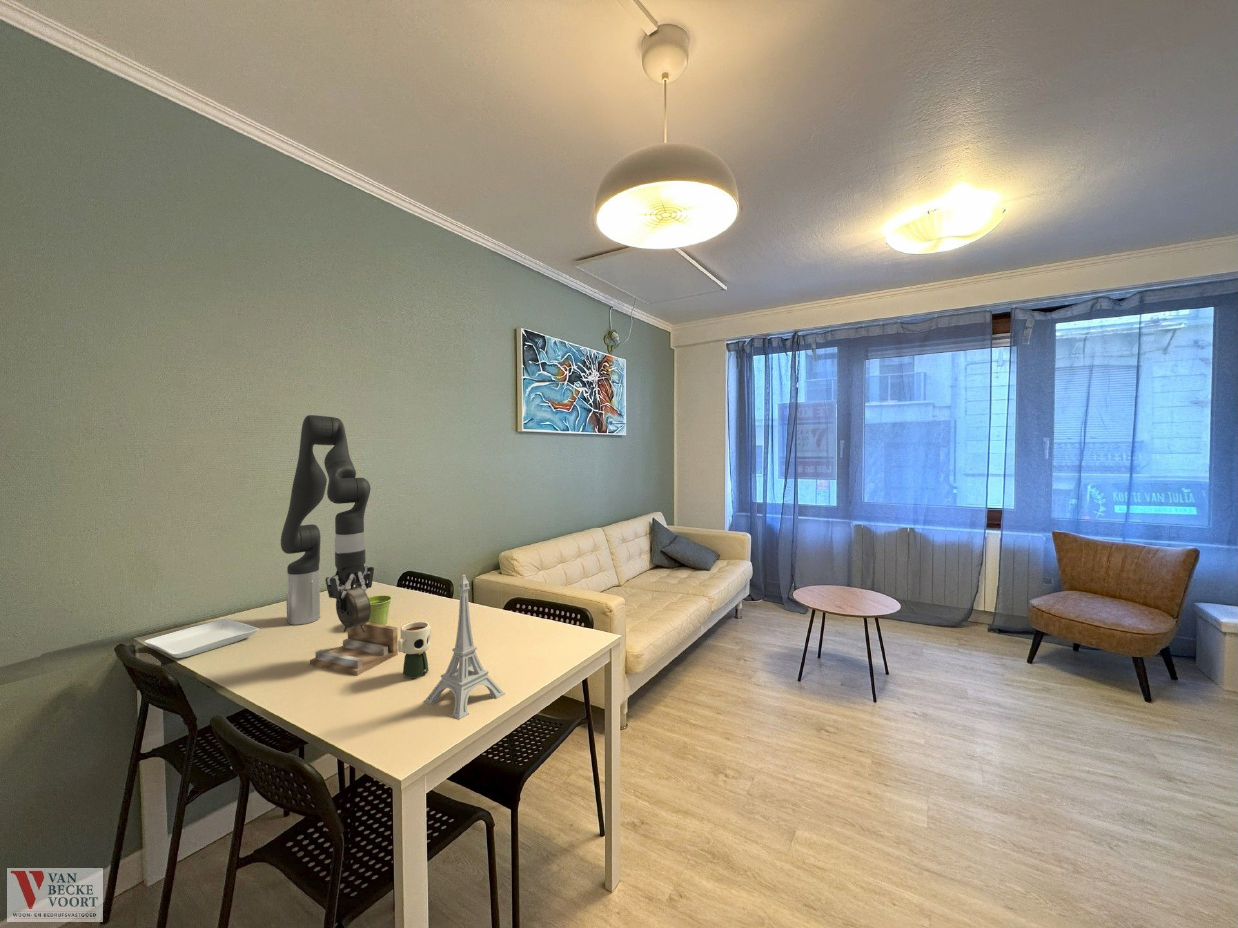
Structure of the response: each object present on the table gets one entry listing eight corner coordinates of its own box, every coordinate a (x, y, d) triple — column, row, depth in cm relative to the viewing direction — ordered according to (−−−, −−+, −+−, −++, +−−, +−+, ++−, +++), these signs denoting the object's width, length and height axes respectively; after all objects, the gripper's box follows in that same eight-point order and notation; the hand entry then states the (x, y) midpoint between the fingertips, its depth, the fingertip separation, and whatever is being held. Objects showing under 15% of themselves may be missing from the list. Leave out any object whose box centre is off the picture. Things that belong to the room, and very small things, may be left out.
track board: (309, 664, 132) (309, 635, 132) (352, 645, 145) (351, 619, 144) (357, 675, 126) (356, 645, 125) (397, 654, 138) (397, 627, 138)
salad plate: (142, 650, 142) (141, 639, 141) (227, 626, 160) (227, 616, 160) (174, 666, 132) (173, 653, 132) (260, 638, 151) (260, 628, 150)
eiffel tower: (470, 679, 124) (468, 565, 123) (505, 694, 116) (504, 573, 115) (423, 701, 113) (422, 577, 112) (459, 720, 105) (457, 586, 104)
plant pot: (398, 620, 166) (397, 595, 166) (382, 630, 156) (381, 604, 156) (372, 619, 167) (372, 594, 166) (355, 629, 157) (354, 603, 157)
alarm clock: (372, 631, 134) (371, 574, 133) (353, 637, 129) (352, 578, 129) (351, 623, 140) (350, 568, 139) (332, 629, 135) (331, 572, 134)
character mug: (409, 686, 120) (409, 635, 119) (389, 680, 123) (388, 631, 122) (441, 667, 130) (440, 621, 130) (421, 663, 133) (420, 617, 132)
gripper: (362, 542, 141) (363, 599, 142) (316, 552, 128) (317, 614, 129) (381, 544, 139) (382, 601, 139) (336, 555, 125) (338, 618, 126)
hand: (351, 607), depth 134 cm, fingers closed on alarm clock, 5 cm apart
